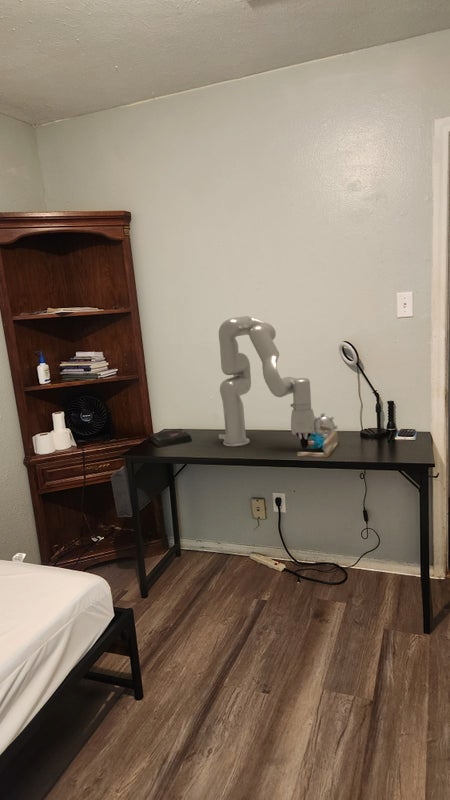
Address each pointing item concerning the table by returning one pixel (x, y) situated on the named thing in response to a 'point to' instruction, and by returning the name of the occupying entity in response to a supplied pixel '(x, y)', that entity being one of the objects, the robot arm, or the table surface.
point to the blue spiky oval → (317, 441)
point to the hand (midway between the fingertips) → (304, 447)
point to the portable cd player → (170, 438)
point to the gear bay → (327, 446)
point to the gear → (324, 426)
